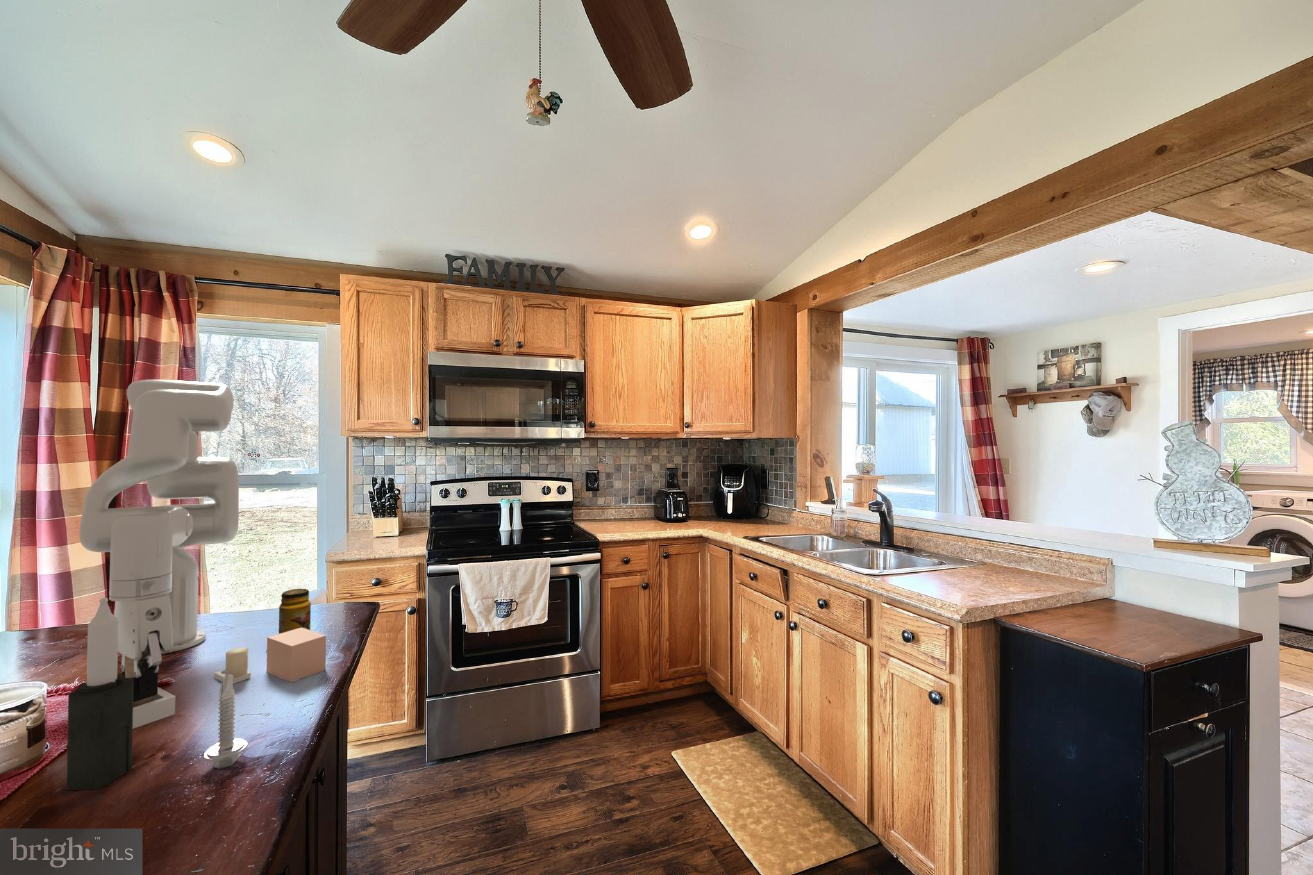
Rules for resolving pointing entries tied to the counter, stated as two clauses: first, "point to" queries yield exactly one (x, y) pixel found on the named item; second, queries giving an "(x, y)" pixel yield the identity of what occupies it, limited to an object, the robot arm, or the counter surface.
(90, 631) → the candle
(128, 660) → the pin
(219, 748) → the screw
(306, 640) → the block
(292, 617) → the condiment
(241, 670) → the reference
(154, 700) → the socket board
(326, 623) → the counter surface
